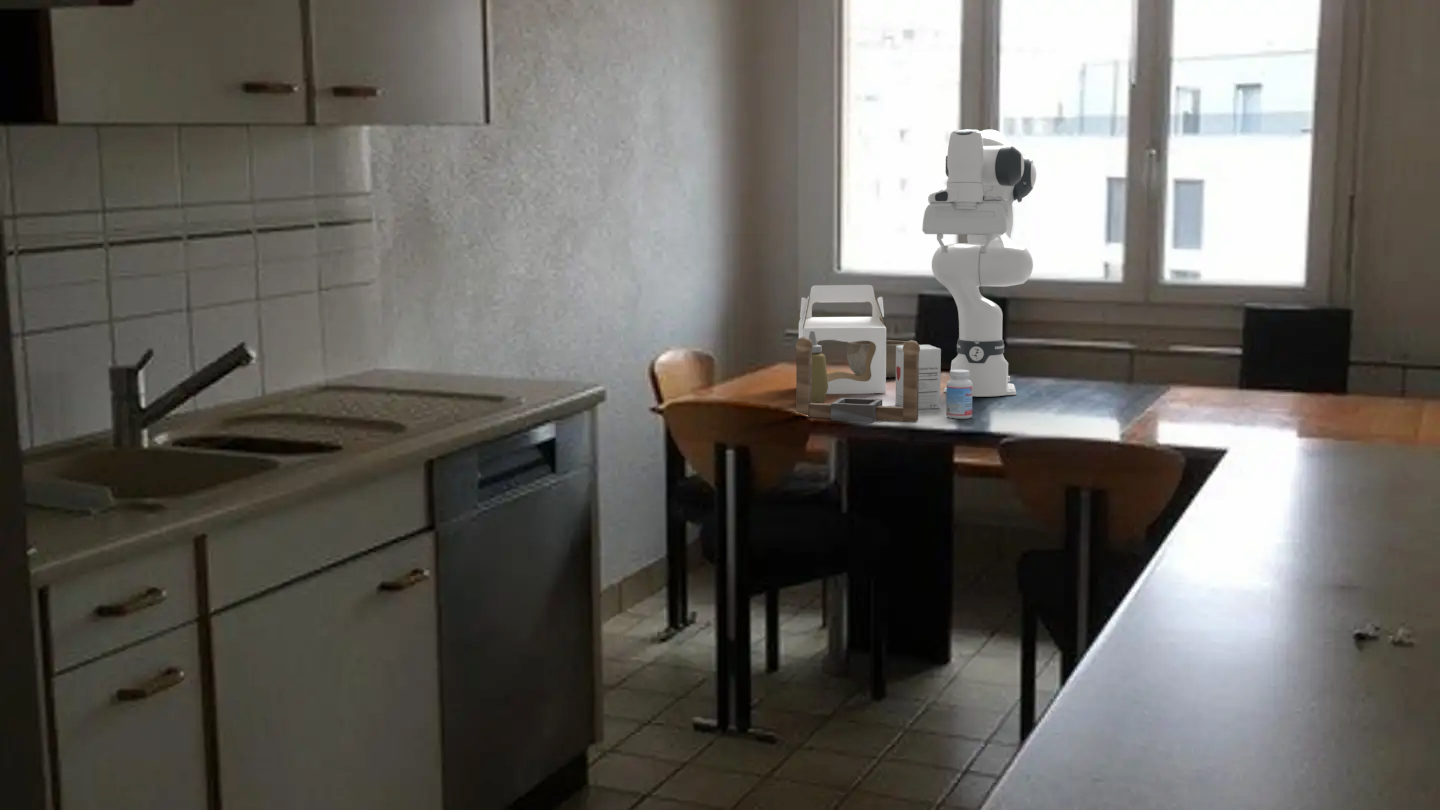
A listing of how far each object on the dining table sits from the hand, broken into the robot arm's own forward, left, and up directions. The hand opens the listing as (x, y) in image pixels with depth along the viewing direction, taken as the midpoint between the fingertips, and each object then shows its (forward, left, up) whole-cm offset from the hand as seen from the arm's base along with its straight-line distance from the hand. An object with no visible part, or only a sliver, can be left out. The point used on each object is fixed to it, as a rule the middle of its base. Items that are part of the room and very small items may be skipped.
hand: (963, 253), depth 412 cm
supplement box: (0, -11, -38) cm, 40 cm away
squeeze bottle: (0, -38, -38) cm, 54 cm away
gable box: (-22, -36, -38) cm, 57 cm away
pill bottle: (+14, +2, -38) cm, 41 cm away
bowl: (-51, -33, -38) cm, 72 cm away
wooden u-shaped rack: (+22, -21, -38) cm, 49 cm away
